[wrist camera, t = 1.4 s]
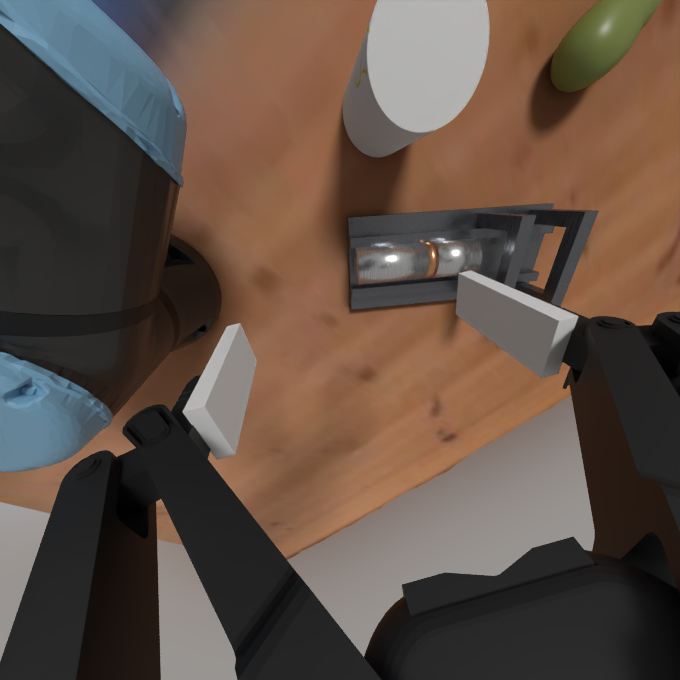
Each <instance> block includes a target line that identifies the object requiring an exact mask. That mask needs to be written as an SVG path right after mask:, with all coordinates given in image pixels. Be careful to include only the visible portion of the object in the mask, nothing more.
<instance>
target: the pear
mask: <svg viewBox="0 0 680 680" xmlns="http://www.w3.org/2000/svg"><path fill="white" fill-rule="evenodd" d="M660 2H661V0H601V1H599V2H598V3H597V4H595V5H594V6H593V7H592V8H591V9H590V10H589V11H587V12H586V13H585V14H584V15H583V16H582V17H581V18H580V19H579V20H578V22H577V23H576V24H575V25H574V26H573V27H572V28H571V29H570V31H569V32H568V33H567V34H566V36H565V37H564V38H563V40H562V41H561V43H560V44H559V46H558V48H557V49H556V52H555V54H554V56H553V59H552V63H551V80H552V82H553V84H554V86H555V87H556V88H557V89H558V90H560V91H563V92H574V91H578V90H581V89H583V88H585V87H587V86H589V85H591V84H593V83H594V82H596V81H597V80H599V79H600V78H601V77H603V76H604V75H605V74H607V73H608V72H609V71H610V70H611V69H612V68H613V67H615V66H616V65H617V64H618V63H619V62H620V60H621V59H622V58H623V57H624V56H625V55H626V53H627V52H628V51H629V49H630V48H631V46H632V45H633V43H634V41H635V40H636V38H637V36H638V34H639V32H640V30H641V29H642V28H643V27H644V26H645V25H646V23H647V22H648V21H649V20H650V18H651V17H652V15H653V14H654V12H655V11H656V9H657V7H658V6H659V4H660Z"/></svg>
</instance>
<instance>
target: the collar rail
mask: <svg viewBox="0 0 680 680" xmlns="http://www.w3.org/2000/svg"><path fill="white" fill-rule="evenodd" d="M553 205H554V204H548V203H547V204H533V205H518V206H504V207H489V208H475V209H460V210H446V211H431V212H417V213H402V214H388V215H373V216H359V217H347V229H348V256H349V283H350V307H351V310H354V309H364V308H374V307H384V306H394V305H405V304H415V303H425V302H435V301H445V300H455V299H457V288H458V276H448V277H437V278H426V279H415V280H404V281H393V282H382V283H371V284H360V285H357V283H356V280H355V274H354V250H355V248H360V247H373V246H386V245H398V244H411V243H424V242H436V241H449V240H462V239H477V240H478V241H479V242H480V244H481V247H482V261H481V264H480V267H479V268H478V270H477V271H476V273H478V274H480V275H483V276H485V277H488V278H490V279H492V280H495V281H497V282H499V283H502V284H504V285H506V286H509V287H511V288H513V289H516V290H518V291H520V292H523V293H525V294H528V295H530V296H532V297H535V298H539V299H543V300H545V301H548V302H550V303H553V305H557V306H561V303H562V301H563V298H564V296H565V294H566V291H567V289H568V286H569V284H570V281H571V279H572V276H573V274H574V271H575V269H576V266H577V264H578V261H579V259H580V256H581V254H582V251H583V249H584V246H585V244H586V241H587V239H588V236H589V234H590V231H591V229H592V226H593V224H594V221H595V219H596V216H597V214H598V212H599V211H592V210H562V209H552V208H553ZM555 226H560V227H566V230H565V233H564V236H563V239H562V241H561V244H560V247H559V250H558V253H557V255H556V258H555V261H554V264H553V267H552V269H551V272H550V275H549V278H548V281H547V283H546V286H545V289H542V288H539V287H536V286H534V285H531V284H528V283H529V281H537V278H538V275H539V272H537V271H533V268H534V264H535V261H536V258H537V255H538V252H539V249H540V246H541V243H542V239H543V236H544V234H545V233H553V230H554V227H555Z"/></svg>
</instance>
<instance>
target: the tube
mask: <svg viewBox="0 0 680 680" xmlns="http://www.w3.org/2000/svg"><path fill="white" fill-rule="evenodd" d="M481 261H482V247H481V244H480V242H479V241H478V240H477V239H462V240H449V241H436V242H424V243H411V244H398V245H386V246H373V247H360V248H355V250H354V274H355V280H356V283H357V285H360V284H371V283H382V282H393V281H404V280H415V279H426V278H437V277H448V276H458V274H459V273H461V272H466V271H470V270H471V271H473V272H476V271H477V270H478V268H479V267H480V264H481Z"/></svg>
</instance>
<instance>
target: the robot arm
mask: <svg viewBox="0 0 680 680" xmlns="http://www.w3.org/2000/svg"><path fill="white" fill-rule="evenodd" d="M186 130H187V123H186V115H185V111H184V108H183V105H182V103H181V100H180V98H179V96H178V94H177V93H176V91H175V89H174V88H173V86H172V85H171V83H170V82H169V81H168V79H167V78H166V77H165V75H164V74H163V73H162V72H161V70H160V69H159V68H158V67H157V65H156V64H155V63H154V62H153V61H152V60H151V59H150V58H149V57H148V56H147V54H146V53H145V52H144V51H143V50H142V49H141V48H140V47H139V46H138V45H137V44H136V43H135V42H134V41H133V40H132V39H131V38H130V37H129V36H128V35H127V34H126V33H125V32H124V31H123V30H122V29H121V28H120V27H119V26H118V25H117V24H116V23H114V22H113V21H112V20H111V19H110V18H109V17H108V16H107V15H106V14H105V13H104V12H103V11H102V10H101V9H100V8H99V7H97V6H96V5H95V4H94V3H93V2H92V1H91V0H0V472H18V471H27V470H34V469H37V468H40V467H45V466H50V465H53V464H56V463H59V462H62V461H64V460H66V459H68V458H70V457H71V456H73V455H74V454H76V453H77V452H79V451H80V450H81V449H82V448H83V447H84V446H85V445H86V444H87V443H88V442H89V441H90V440H92V439H93V438H94V437H95V436H96V435H97V434H98V433H99V432H100V431H101V430H103V429H105V428H106V427H108V426H109V425H110V424H111V420H112V419H113V417H114V416H115V415H116V413H117V412H118V411H119V410H120V409H121V408H122V407H123V405H124V404H125V403H126V402H127V401H128V400H129V399H130V397H131V396H132V395H133V394H134V393H135V392H136V391H137V389H138V388H139V387H140V386H141V385H142V384H143V383H144V381H145V380H146V379H147V378H148V377H149V376H150V375H151V373H152V372H153V371H154V370H155V369H156V368H157V367H158V365H159V364H160V363H161V362H162V361H163V360H164V359H165V357H166V356H167V355H168V354H169V353H170V352H172V351H174V350H177V349H179V348H181V347H184V346H186V345H189V344H191V343H193V342H195V341H197V340H198V339H200V338H201V337H202V336H204V335H205V334H206V333H207V332H208V330H209V329H210V328H211V326H212V325H213V324H214V322H215V321H216V319H217V317H218V315H219V312H220V308H221V292H220V287H219V284H218V281H217V278H216V276H215V274H214V272H213V271H212V269H211V267H210V266H209V264H208V263H207V262H206V261H205V259H204V258H203V257H202V256H201V255H200V254H199V253H198V252H197V251H196V250H195V249H194V248H192V247H191V246H190V245H188V244H187V243H186V242H184V241H182V240H181V239H179V238H177V237H175V236H173V235H171V230H172V225H173V220H174V215H175V210H176V204H177V199H178V194H179V189H180V187H182V188H183V184H184V181H183V177H182V176H181V170H182V162H183V154H184V146H185V138H186ZM456 315H457V316H458V317H460V318H461V319H462V320H464V321H465V322H467V323H468V324H469V325H471V326H472V327H473V328H475V329H476V330H477V331H479V332H480V333H481V334H483V335H484V336H485V337H487V338H488V339H489V340H491V341H492V342H494V343H495V344H496V345H498V346H499V347H500V348H502V349H503V350H504V351H506V352H507V353H508V354H510V355H511V356H512V357H514V358H515V359H516V360H518V361H519V362H521V363H522V364H523V365H525V366H526V367H527V368H529V369H530V370H531V371H533V372H534V373H535V374H537V375H538V376H539V377H541V378H543V377H547V376H551V375H555V374H558V373H559V370H560V367H561V364H562V362H564V363H566V364H567V365H569V366H570V369H569V372H568V375H567V377H566V380H565V383H564V385H563V388H564V389H566V388H567V386H568V385H570V389H571V395H572V401H573V407H574V413H575V418H576V424H577V430H578V436H579V441H580V447H581V453H582V459H583V464H584V470H585V476H586V482H587V487H588V493H589V499H590V505H591V511H592V517H593V522H594V529H595V540H594V545H593V550H592V551H586V550H584V549H583V548H582V547H581V545H580V544H579V543H578V542H577V540H576V539H575V538H574V537H570V538H567V539H564V540H560V541H556V542H553V543H549V544H545V545H542V546H538V547H535V548H532V549H531V550H530V551H528V552H527V553H526V554H525V555H523V556H522V557H521V558H520V559H518V560H517V561H516V562H515V563H513V564H512V565H511V566H510V567H509V568H507V569H506V570H505V571H504V572H502V573H501V574H500V575H497V576H484V575H470V574H456V573H442V574H438V575H435V576H432V577H428V578H424V579H421V580H417V581H414V582H410V583H406V584H403V585H402V589H403V595H404V596H403V597H402V598H401V599H400V600H398V601H397V602H396V603H395V604H394V605H393V606H392V607H391V608H390V609H389V610H388V611H387V612H386V614H385V615H384V617H383V618H382V619H381V621H380V622H379V624H378V626H377V627H376V629H375V631H374V633H373V635H372V637H371V640H370V642H369V645H368V647H367V650H366V653H365V656H364V657H363V656H362V654H361V653H360V652H359V651H358V649H357V648H356V647H355V646H354V644H353V643H352V642H351V640H350V639H349V638H348V637H347V635H346V634H345V633H344V632H343V630H342V629H341V628H340V627H339V625H338V624H337V623H336V621H335V620H334V619H333V618H332V617H331V615H330V614H329V613H328V611H327V610H326V609H325V607H324V606H323V605H322V604H321V602H320V601H319V600H318V599H317V597H316V596H315V595H314V593H313V592H312V591H311V590H310V588H309V587H308V586H307V585H306V584H305V582H304V581H303V580H302V578H301V577H300V576H299V575H298V574H297V573H296V571H295V570H294V569H293V568H292V566H291V565H290V564H289V562H288V561H287V560H286V559H285V557H284V556H283V555H282V554H281V552H280V551H279V550H278V548H277V547H276V546H275V545H274V543H273V542H272V541H271V540H270V538H269V537H268V536H267V534H266V533H265V532H264V531H263V529H262V528H261V527H260V526H259V524H258V523H257V522H256V520H255V519H254V518H253V517H252V515H251V514H250V513H249V512H248V510H247V509H246V508H245V506H244V505H243V504H242V503H241V501H240V500H239V499H238V498H237V496H236V495H235V494H234V492H233V491H232V490H231V489H230V487H229V486H228V485H227V484H226V482H225V481H224V480H223V478H222V477H221V476H220V475H219V473H218V472H217V471H216V470H215V468H214V467H213V466H212V464H211V463H210V462H209V461H208V456H209V453H210V451H211V452H212V454H213V455H214V456H215V458H216V459H220V458H224V457H228V456H232V455H236V450H237V446H238V442H239V437H240V433H241V429H242V424H243V420H244V416H245V411H246V407H247V403H248V398H249V394H250V390H251V385H252V381H253V377H254V372H255V368H256V364H257V360H256V358H255V356H254V353H253V351H252V349H251V346H250V344H249V342H248V339H247V337H246V335H245V333H244V330H243V328H242V326H241V323H239V324H234V325H230V326H227V327H226V329H225V331H224V333H223V335H222V337H221V339H220V341H219V343H218V345H217V346H216V348H215V350H214V352H213V354H212V356H211V358H210V360H209V362H208V364H207V366H206V368H205V369H204V371H203V373H202V375H200V376H195V377H194V378H193V379H192V380H191V381H190V382H189V383H188V384H187V385H186V387H185V389H184V390H183V392H182V394H181V395H180V397H179V399H178V401H177V402H176V404H175V406H174V408H173V409H172V411H171V412H170V411H169V409H168V408H167V407H166V406H165V405H163V404H161V405H154V406H150V407H148V408H146V409H144V410H142V411H140V412H139V413H137V414H136V415H134V416H133V417H132V418H131V419H130V420H129V421H128V422H127V423H126V424H125V426H124V427H123V434H124V435H125V436H126V437H127V439H128V440H129V441H130V442H131V443H132V444H133V445H134V446H135V447H136V448H135V449H133V450H131V451H129V452H127V453H125V454H122V455H120V456H118V457H116V456H115V455H114V454H113V453H112V452H110V451H107V450H105V451H99V452H97V453H94V454H92V455H90V456H88V457H87V458H85V459H83V460H81V461H80V462H78V464H76V465H75V466H74V467H73V468H72V469H71V470H70V471H69V472H68V473H67V474H66V475H65V477H64V479H63V481H62V482H61V485H60V488H59V491H58V494H57V497H56V500H55V503H54V506H53V509H52V512H51V515H50V518H49V521H48V524H47V526H46V529H45V532H44V535H43V538H42V541H41V544H40V547H39V550H38V553H37V556H36V559H35V562H34V565H33V568H32V571H31V573H30V577H29V579H28V582H27V585H26V588H25V591H24V594H23V597H22V600H21V603H20V606H19V609H18V612H17V614H16V617H15V621H14V623H13V626H12V629H11V632H10V635H9V638H8V641H7V644H6V647H5V650H4V653H3V656H2V659H1V661H0V680H161V674H160V636H159V598H158V561H157V523H156V501H158V500H160V499H162V501H163V503H164V505H165V507H166V509H167V511H168V513H169V515H170V518H171V520H172V522H173V524H174V526H175V528H176V530H177V532H178V534H179V536H180V538H181V541H182V543H183V545H184V547H185V549H186V551H187V553H188V555H189V557H190V559H191V561H192V564H193V565H194V568H195V570H196V572H197V574H198V576H199V578H200V580H201V582H202V584H203V586H204V588H205V591H206V593H207V595H208V597H209V599H210V601H211V603H212V605H213V607H214V609H215V612H216V614H217V616H218V618H219V620H220V622H221V624H222V626H223V628H224V630H225V633H226V634H227V637H228V639H229V641H230V643H231V645H232V647H233V650H234V652H235V656H236V664H235V671H236V675H237V679H238V680H680V312H664V313H660V314H658V315H657V317H656V318H655V320H654V322H653V324H652V325H644V326H636V325H635V324H634V323H632V322H630V321H627V320H625V319H621V318H616V317H609V316H598V317H592V318H590V319H588V318H586V317H584V316H581V315H579V314H577V313H574V312H572V311H569V310H567V309H565V308H561V307H560V306H557V305H553V303H550V302H548V301H545V300H543V299H539V298H535V297H532V296H530V295H528V294H525V293H523V292H520V291H518V290H516V289H513V288H511V287H509V286H506V285H504V284H502V283H499V282H497V281H495V280H492V279H490V278H488V277H485V276H483V275H480V274H478V273H476V272H473V271H471V270H470V271H466V272H461V273H459V274H458V288H457V303H456Z"/></svg>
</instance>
